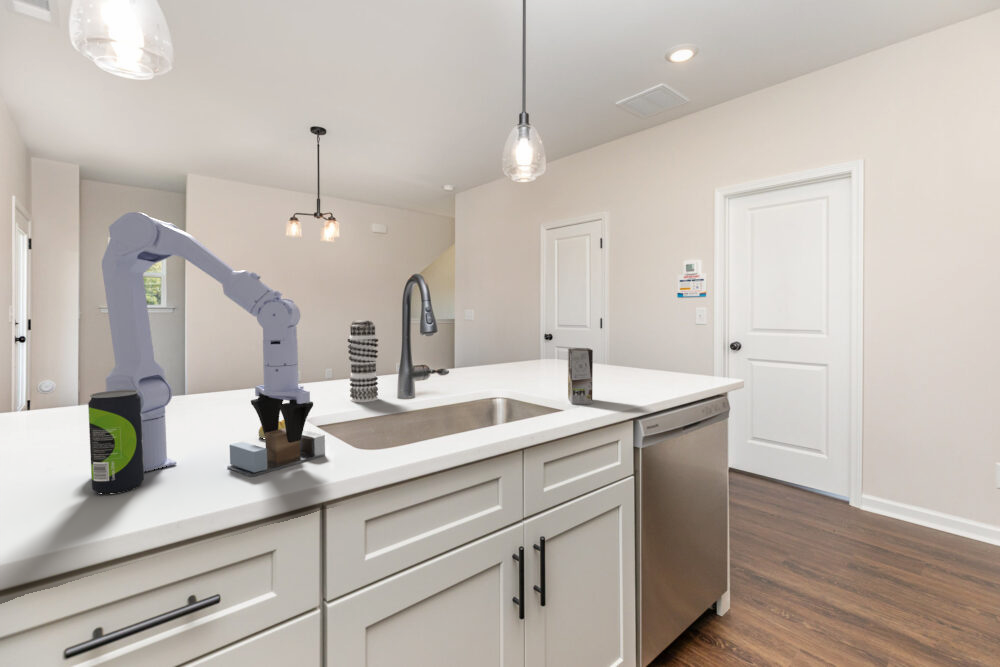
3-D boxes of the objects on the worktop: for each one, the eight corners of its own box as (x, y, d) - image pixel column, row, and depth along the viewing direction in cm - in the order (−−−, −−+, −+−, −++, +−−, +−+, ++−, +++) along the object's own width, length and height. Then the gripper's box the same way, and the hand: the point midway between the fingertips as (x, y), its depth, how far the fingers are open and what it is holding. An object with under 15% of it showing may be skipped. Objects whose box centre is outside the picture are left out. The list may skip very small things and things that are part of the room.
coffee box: (593, 404, 136) (593, 349, 136) (571, 404, 137) (571, 349, 136) (588, 398, 145) (588, 347, 145) (567, 398, 146) (567, 347, 145)
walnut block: (299, 456, 86) (299, 430, 86) (276, 463, 83) (275, 435, 82) (289, 453, 88) (288, 427, 88) (266, 459, 85) (265, 432, 84)
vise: (251, 477, 77) (250, 453, 77) (227, 468, 81) (226, 446, 81) (325, 455, 88) (324, 435, 88) (300, 448, 93) (299, 429, 93)
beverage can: (148, 487, 72) (144, 392, 72) (95, 499, 68) (91, 397, 67) (139, 478, 76) (135, 388, 76) (89, 489, 72) (84, 393, 71)
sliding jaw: (254, 472, 77) (253, 451, 77) (230, 464, 82) (229, 444, 81) (268, 468, 79) (268, 448, 79) (244, 460, 84) (244, 441, 84)
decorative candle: (371, 402, 141) (370, 320, 140) (343, 402, 143) (341, 321, 142) (383, 397, 150) (382, 320, 149) (357, 396, 152) (355, 320, 151)
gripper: (324, 365, 84) (325, 439, 85) (279, 360, 92) (280, 428, 93) (287, 368, 78) (289, 448, 79) (243, 364, 86) (245, 436, 87)
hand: (282, 438), depth 85 cm, fingers open, 7 cm apart
